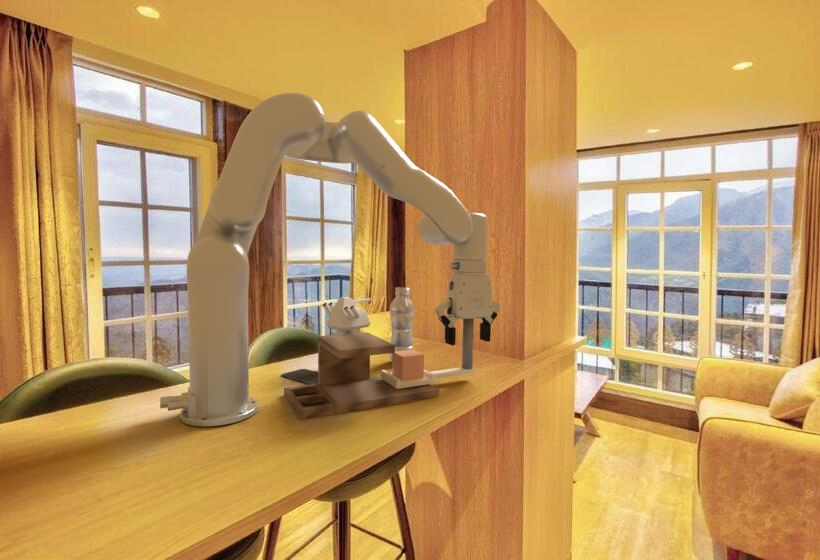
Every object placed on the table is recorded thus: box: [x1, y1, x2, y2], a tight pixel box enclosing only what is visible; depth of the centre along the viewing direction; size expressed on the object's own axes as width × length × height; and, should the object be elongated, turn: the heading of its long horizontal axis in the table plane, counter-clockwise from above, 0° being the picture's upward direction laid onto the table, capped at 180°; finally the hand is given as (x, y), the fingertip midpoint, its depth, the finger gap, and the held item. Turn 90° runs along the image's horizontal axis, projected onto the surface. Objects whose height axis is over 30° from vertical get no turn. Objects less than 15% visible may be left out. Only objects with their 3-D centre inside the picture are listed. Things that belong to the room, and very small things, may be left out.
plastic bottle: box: [389, 286, 415, 362], centre depth 111 cm, size 6×7×20 cm
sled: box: [380, 319, 475, 389], centre depth 92 cm, size 21×8×13 cm, turn 118°
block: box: [391, 349, 425, 381], centre depth 90 cm, size 5×5×5 cm
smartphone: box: [280, 368, 318, 385], centre depth 96 cm, size 7×1×15 cm
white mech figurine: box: [321, 296, 372, 335], centre depth 105 cm, size 12×13×18 cm
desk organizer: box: [283, 332, 440, 421], centre depth 85 cm, size 28×14×12 cm, turn 118°
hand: (467, 342), depth 97 cm, fingers open, 9 cm apart
